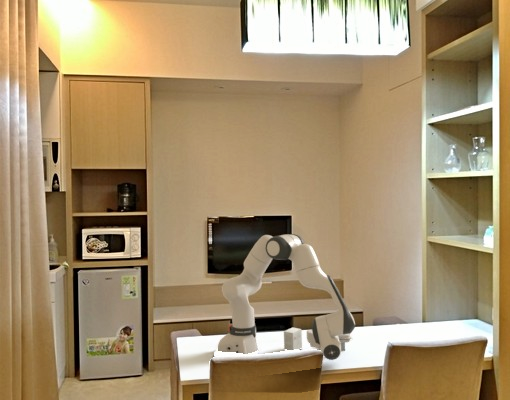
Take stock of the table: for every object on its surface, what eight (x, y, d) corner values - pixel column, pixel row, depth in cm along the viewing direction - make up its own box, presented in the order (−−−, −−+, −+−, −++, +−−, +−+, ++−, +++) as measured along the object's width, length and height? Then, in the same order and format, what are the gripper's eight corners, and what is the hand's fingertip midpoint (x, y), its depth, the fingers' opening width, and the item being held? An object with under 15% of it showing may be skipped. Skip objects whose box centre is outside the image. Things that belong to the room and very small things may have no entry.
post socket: (326, 350, 229) (326, 340, 229) (325, 344, 238) (325, 334, 238) (345, 350, 228) (344, 340, 228) (343, 344, 237) (342, 334, 237)
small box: (293, 347, 235) (292, 327, 235) (302, 349, 231) (301, 328, 231) (284, 352, 229) (283, 331, 229) (293, 354, 225) (292, 333, 225)
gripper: (352, 333, 207) (349, 324, 221) (306, 332, 209) (306, 323, 223) (352, 347, 208) (349, 337, 221) (307, 346, 210) (306, 336, 223)
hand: (327, 330), depth 222 cm, fingers closed on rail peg, 4 cm apart
